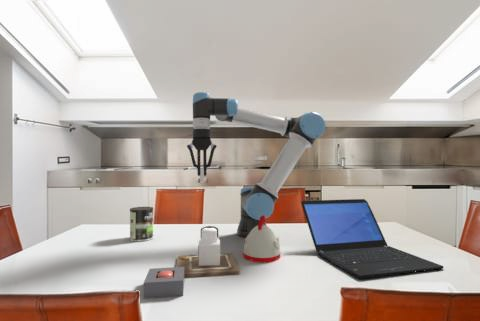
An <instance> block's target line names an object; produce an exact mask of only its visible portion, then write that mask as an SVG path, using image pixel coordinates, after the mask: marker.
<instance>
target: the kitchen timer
mask: <svg viewBox="0 0 480 321" xmlns="http://www.w3.org/2000/svg"><path fill="white" fill-rule="evenodd" d="M266 219H267V218H265V216H261V217H260V220H259V224H258V225H257V226H256V227H254V228H253V229H252V230H251V232H250V233H249V235H248V236H247V237H246V238H245V237H244V243H243V252H242V254H243V258H244V259H245V260H247V261H249V262H253V263H273V262H276V261H279V260H280V259H281V249H280V248H281V246H280V239H279V237H277V236H276V234H275V233H274V231H273V230H272V228H270V227H269V226H268V225H267V224H266V225H265V222H266Z"/></svg>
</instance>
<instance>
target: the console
mask: <svg viewBox="0 0 480 321" xmlns="http://www.w3.org/2000/svg"><path fill="white" fill-rule="evenodd" d="M161 271H172V272H173V277H167V278H158V273H159V272H161ZM184 290H185V277H184V267H176V266H174V267H173V266H172V267H156V268H155V267H153V268H149V270H148V272H147V274H146V277H145V279H144V281H143V299H154V298H155V299H156V298H168V297H169V298H171V297H182V296H184Z"/></svg>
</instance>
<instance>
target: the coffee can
mask: <svg viewBox="0 0 480 321" xmlns="http://www.w3.org/2000/svg"><path fill="white" fill-rule="evenodd" d="M153 239H154V207H152V206H136V207H130V208H129V240H130V241H131V242H146V241H151V240H153Z"/></svg>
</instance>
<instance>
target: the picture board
mask: <svg viewBox="0 0 480 321" xmlns="http://www.w3.org/2000/svg"><path fill="white" fill-rule="evenodd" d="M175 267H184V278H197V277H200V278H201V277H215V276H231V275H240V269H239V266H238V263H237V261H236V259H235V257H234V253H233V252H228V253H225V252H224V253H223V252H222V253H220V265H219V266H199V265H198V254H189V255H187V254H185V255H178V256H177V261H176V264H175Z"/></svg>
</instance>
